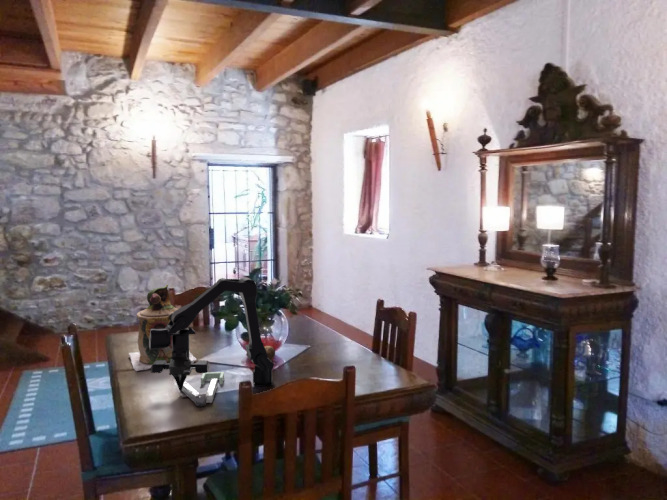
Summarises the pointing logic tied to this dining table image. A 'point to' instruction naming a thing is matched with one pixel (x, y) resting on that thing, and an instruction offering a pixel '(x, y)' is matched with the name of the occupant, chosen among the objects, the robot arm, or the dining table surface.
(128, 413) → the dining table surface
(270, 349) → the mushroom
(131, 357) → the cookie jar
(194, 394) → the tong arm
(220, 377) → the lock clip
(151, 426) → the dining table surface
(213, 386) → the tongs fixed arm
